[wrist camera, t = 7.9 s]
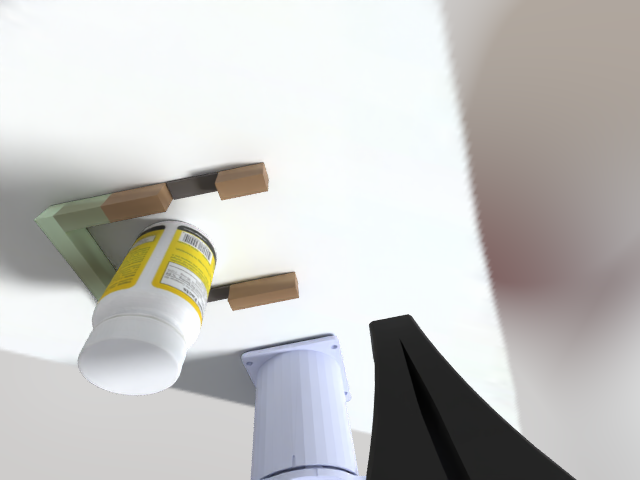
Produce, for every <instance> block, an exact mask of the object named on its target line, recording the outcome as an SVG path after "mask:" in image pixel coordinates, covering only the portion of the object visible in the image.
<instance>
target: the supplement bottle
mask: <svg viewBox="0 0 640 480" xmlns="http://www.w3.org/2000/svg"><path fill="white" fill-rule="evenodd" d="M216 259H217V254H216V249H215V246H214V244H213V242H212V241H211V239H210V238H209V237H208V236H207V235H206V234H205V233H204V232H203V231H202V230H200V229H199V228H197V227H195V226H193V225H190V224H188V223H184V222H179V221H164V222H159V223H155V224H153V225H150V226H148V227H147V228H146V229H144V230H143V231H142V232H141V233H140V235H139V236H138V238H137V239H136V241H135V243H134V244H133V246H132V247H131V249H130V251H129V252H128V254H127V256H126V257H125V259H124V260H123V262H122V264H121V265H120V267H119V269H118V270H117V272H116V274H115V275H114V277H113V278H112V280H111V282H110V283H109V285H108V287H107V288H106V290H105V292H104V293H103V295H102V297H101V298H100V300H99V301H98V303H97V305H96V307H95V309H94V312H93V316H92V325H93V331H92V332H91V333H90V335H89V338H88V339H87V341H86V343H85V345H84V346H83V348H82V350H81V352H80V354H79V357H78V367H79V370H80V372H81V373H82V375H83V376H84V377H85V378H86V379H87V380H88V381H89V382H90V383H92V384H93V385H95V386H97V387H99V388H101V389H104V390H106V391H109V392H113V393H117V394H123V395H148V394H153V393H157V392H160V391H163V390H165V389H167V388H169V387H170V386H172V385H173V384H174V383H175V382H176V380H177V379H178V377H179V375H180V372H181V369H182V366H183V363H184V360H185V358H186V354H187V349H189V348H190V347H191V346H192V345H193V343H194V342H195V341H196V339H197V337H198V335H199V332H200V329H201V324H202V320H203V316H204V312H205V307H206V303H207V299H208V295H209V291H210V286H211V282H212V278H213V274H214V270H215V265H216Z"/></svg>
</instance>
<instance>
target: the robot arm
mask: <svg viewBox="0 0 640 480" xmlns="http://www.w3.org/2000/svg"><path fill="white" fill-rule="evenodd" d="M369 328H370V336H371V344H372V352H373V359H374V363H375V395H374V413H373V426H372V436H371V446H370V453H369V461H368V468H367V475H366V476H359V474H358V469H357V463H356V457H355V451H354V445H353V439H352V434H351V428H350V422H349V416H348V410H347V404H346V402H347V401H350V400H351V393H350V388H349V384H348V379H347V374H346V370H345V365H344V360H343V356H342V351H341V346H340V342H339V338H338V337H337V336H328V337H322V338H317V339H312V340H307V341H302V342H297V343H292V344H287V345H281V346H276V347H271V348H266V349H261V350H256V351H251V352H246V353H244V354H242V357H241V360H242V362H243V364H244V366H245V368H246V370H247V372H248V374H249V376H250V378H251V380H252V382H253V384H254V386H255V388H256V401H255V418H254V435H253V451H252V468H251V480H576V479H575V478H574V477H572V476H571V475H570V474H569V473H567V472H566V471H565V470H564V469H562V468H561V467H560V466H559V465H557V464H556V463H555V462H554V461H552V460H551V459H550V458H549V457H547V456H546V455H545V454H544V453H542V452H541V451H540V450H539V449H537V448H536V447H535V446H534V445H533V444H532V443H530V442H529V441H528V440H527V439H526V438H525V437H523V436H522V435H521V434H520V433H519V432H518V431H517V430H515V429H514V428H513V427H512V426H511V425H510V424H509V423H508V422H507V421H505V420H504V419H503V418H502V417H501V416H500V415H499V414H498V413H497V412H496V411H495V410H494V409H493V408H491V407H490V406H489V405H488V404H487V403H486V402H485V401H484V400H483V399H482V398H481V397H480V396H479V395H478V394H477V393H476V392H475V391H474V390H473V389H472V388H471V387H470V386H469V385H468V384H467V383H466V381H465V380H464V379H463V378H462V377H461V376H460V375H459V374H458V373H457V372H456V371H455V370H454V368H453V367H452V366H451V365H450V364H449V363H448V362H447V361H446V359H445V358H444V357H443V356H442V355H441V354H440V353H439V351H438V350H437V349H436V348H435V346H434V345H433V344H432V343H431V342H430V340H429V339H428V338H427V337H426V335H425V334H424V333H423V331H422V330H421V329H420V327H419V326H418V325H417V323H416V322H415V320H414V319H413V317H412V316H411V315H409V314H407V315H402V316H397V317H392V318H387V319H382V320H377V321H372V322H371V323H370V324H369Z"/></svg>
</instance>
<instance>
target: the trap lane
mask: <svg viewBox="0 0 640 480" xmlns="http://www.w3.org/2000/svg"><path fill="white" fill-rule="evenodd" d="M268 180H269V179H268V175H267V172H266V168H265V165H264V163H259V164H254V165H249V166H244V167H239V168H234V169H229V170H225V171H220V172H219V173H217V172H215V173H210V174H205V175H200V176H195V177H190V178H185V179H180V180H175V181H170V182H167V183H166V182H165V183H160V184H155V185H151V186H146V187H141V188H136V189H131V190H126V191H121V192H116V193H111V194H106V195H101V196H96V197H91V198H86V199H81V200H77V201H72V202H67V203H62V204H57V205H52V206H49V207H48V208H47V209H46V210H45V211H44V212H42V213H41V214H40V215H39V216H38V217H37V218H35V219H34V221H35V222H36V223H37V225H38V226H39V227H40V228H41V230H42V231H43V232H44V233H45V235H46V236H47V237H48V238H49V240H50V241H51V242H52V244H53V245H54V246H55V247H56V249H57V250H58V251H59V252H60V254H61V255H62V256H63V257H64V259H65V260H66V261H67V262H68V264H69V265H70V266H71V267H72V269H73V270H74V271H75V273H76V274H77V275H78V276H79V278H80V279H81V280H82V281H83V283H84V284H85V285H86V286H87V288H88V289H89V290H90V291H91V293H92V294H93V295H94V296H95V298H96V299H97V300H98V301H99V300H100V298H101V297H102V295H103V293H104V292H105V290H106V288H107V287H108V285H109V283H110V282H111V280H112V278H113V277H114V275H115V274H116V270H115V269H114V268H113V266H112V265H111V263H110V262H109V260H108V259H107V258H106V256H105V255H104V253H103V252H102V250H101V249H100V248H99V246H98V245H97V243H96V242H95V240H94V239H93V237H92V236H91V235H90V233H89V232H88V230H87V229H86V228H87V227H92V226H97V225H102V224H107V223H112V222H117V221H122V220H127V219H132V218H137V217H141V216H146V215H151V214H156V213H161V212H166V210H167V209H168V207H169V205H170V203H171V201H172V200H173V199H174V200H175V199H180V198H185V197H190V196H195V195H200V194H205V193H210V192H215V191H218V193H219V196H220V198H221V200H226V199H231V198H236V197H241V196H246V195H251V194H256V193H261V192H266V191H268ZM166 184H167V185H166ZM167 186H168V187H167ZM168 188H169V189H168ZM169 190H170V191H169ZM170 192H171V193H170ZM227 298H228V302H229V304H230V306H231V308H232V311H234V310H239V309H245V308H250V307H255V306H260V305H265V304H270V303H275V302H280V301H285V300H290V299H295V298H299V292H298V281H297V278H296V274H295V272H292V273H287V274H282V275H277V276H272V277H267V278H262V279H257V280H252V281H247V282H242V283H237V284H232V285H230V286H229V285H227V286H222V287H217V288H211V289H210V291H209V295H208V299H207V302H212V301H217V300H222V299H227Z"/></svg>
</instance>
